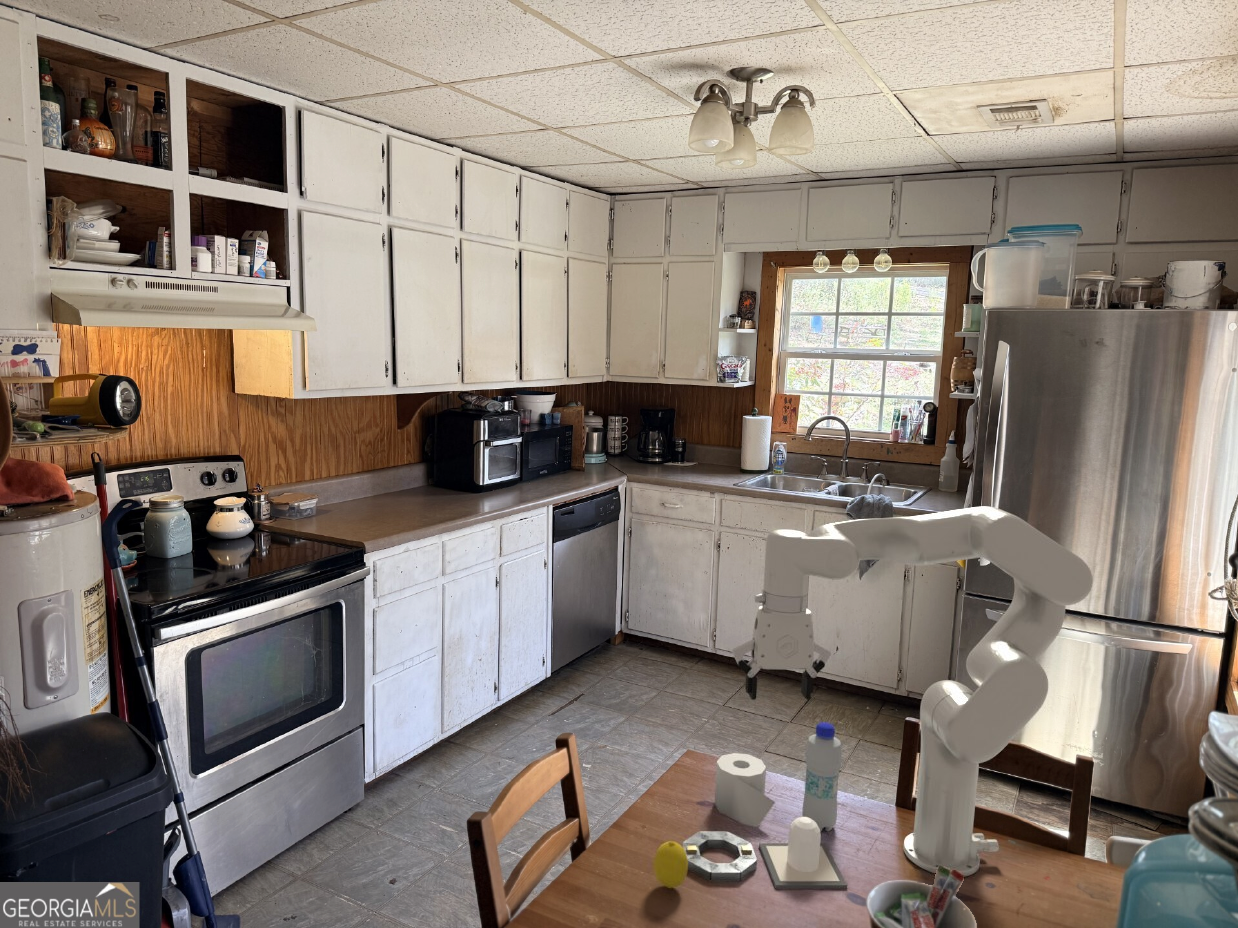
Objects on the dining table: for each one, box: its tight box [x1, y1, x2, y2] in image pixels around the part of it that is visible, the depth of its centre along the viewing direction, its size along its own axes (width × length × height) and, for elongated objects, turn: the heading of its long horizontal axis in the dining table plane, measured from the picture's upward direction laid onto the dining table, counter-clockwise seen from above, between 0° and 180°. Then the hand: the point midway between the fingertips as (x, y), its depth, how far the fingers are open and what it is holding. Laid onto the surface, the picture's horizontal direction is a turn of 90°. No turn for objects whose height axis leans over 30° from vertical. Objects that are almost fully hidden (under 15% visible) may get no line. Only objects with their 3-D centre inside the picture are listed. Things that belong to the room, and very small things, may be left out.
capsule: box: [787, 816, 822, 872], centre depth 141 cm, size 5×5×8 cm
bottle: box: [801, 721, 843, 833], centre depth 153 cm, size 7×7×20 cm
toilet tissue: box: [714, 752, 776, 828], centre depth 158 cm, size 9×13×9 cm
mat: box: [758, 842, 848, 890], centre depth 141 cm, size 12×12×1 cm
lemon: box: [653, 840, 689, 889], centre depth 134 cm, size 6×6×8 cm
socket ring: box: [681, 830, 758, 883], centre depth 142 cm, size 12×12×2 cm
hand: (778, 696), depth 144 cm, fingers open, 9 cm apart
